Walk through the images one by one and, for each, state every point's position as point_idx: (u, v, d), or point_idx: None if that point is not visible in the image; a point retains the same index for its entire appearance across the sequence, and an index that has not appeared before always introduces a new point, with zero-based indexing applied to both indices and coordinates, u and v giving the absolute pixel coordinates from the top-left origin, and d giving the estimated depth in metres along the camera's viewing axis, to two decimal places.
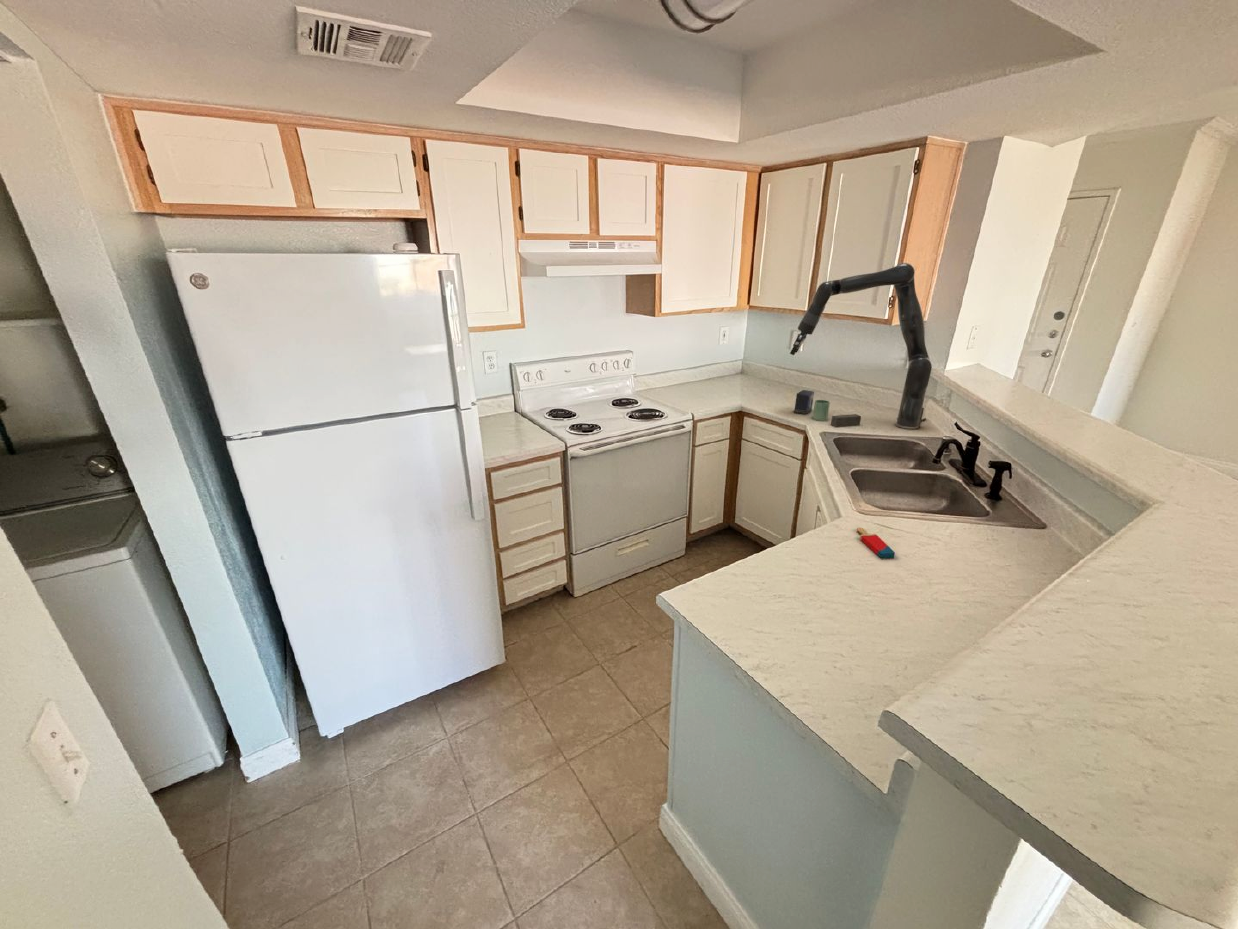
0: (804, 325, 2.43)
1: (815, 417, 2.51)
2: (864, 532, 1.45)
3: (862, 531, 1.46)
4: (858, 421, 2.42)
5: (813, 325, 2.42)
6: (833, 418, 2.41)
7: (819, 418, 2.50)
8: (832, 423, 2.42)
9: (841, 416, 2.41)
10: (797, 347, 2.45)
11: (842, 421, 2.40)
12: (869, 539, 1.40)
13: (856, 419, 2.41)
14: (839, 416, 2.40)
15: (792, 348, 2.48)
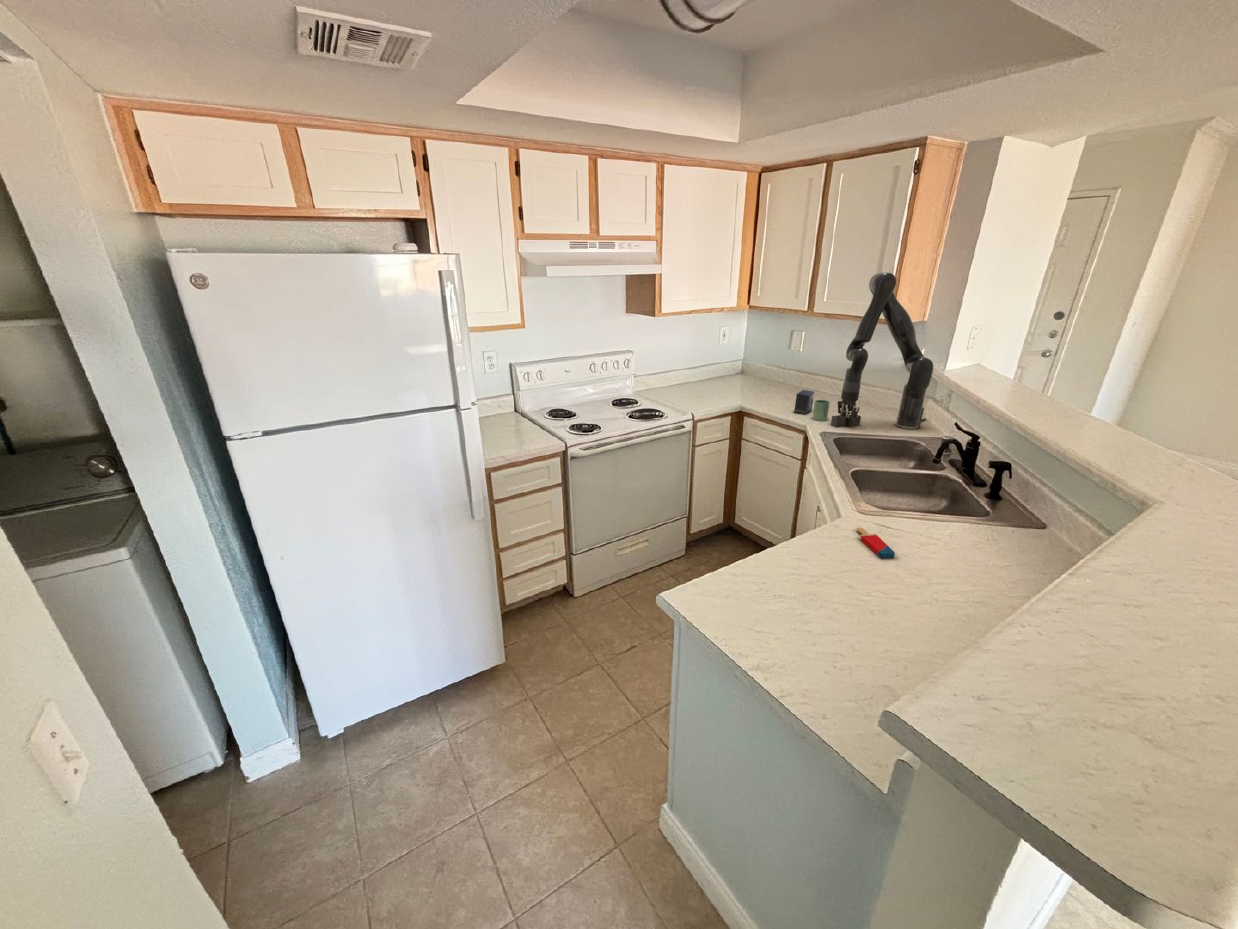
0: (853, 394, 2.34)
1: (815, 417, 2.51)
2: (864, 532, 1.45)
3: (862, 531, 1.46)
4: (858, 421, 2.42)
5: (859, 390, 2.35)
6: (833, 418, 2.41)
7: (819, 418, 2.50)
8: (832, 423, 2.42)
9: (841, 416, 2.41)
10: None
11: (842, 421, 2.40)
12: (869, 539, 1.40)
13: (856, 419, 2.41)
14: (839, 416, 2.40)
15: (847, 420, 2.40)
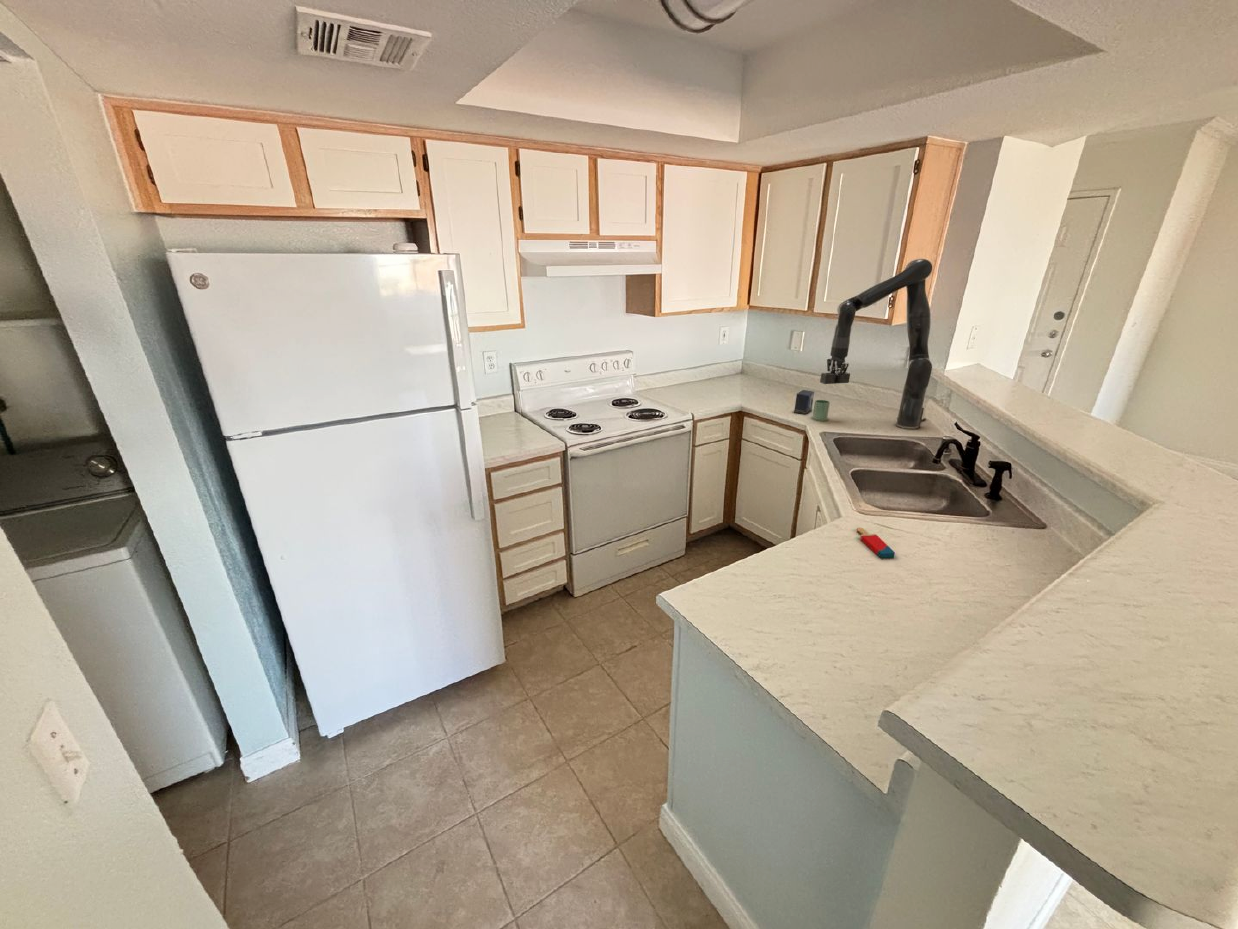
0: (842, 350, 2.33)
1: (815, 417, 2.51)
2: (864, 532, 1.45)
3: (862, 531, 1.46)
4: (847, 379, 2.41)
5: (848, 346, 2.34)
6: (822, 375, 2.40)
7: (819, 418, 2.50)
8: (821, 380, 2.41)
9: (830, 373, 2.40)
10: (844, 374, 2.36)
11: (831, 379, 2.39)
12: (869, 539, 1.40)
13: (845, 376, 2.40)
14: (828, 373, 2.39)
15: (836, 377, 2.39)
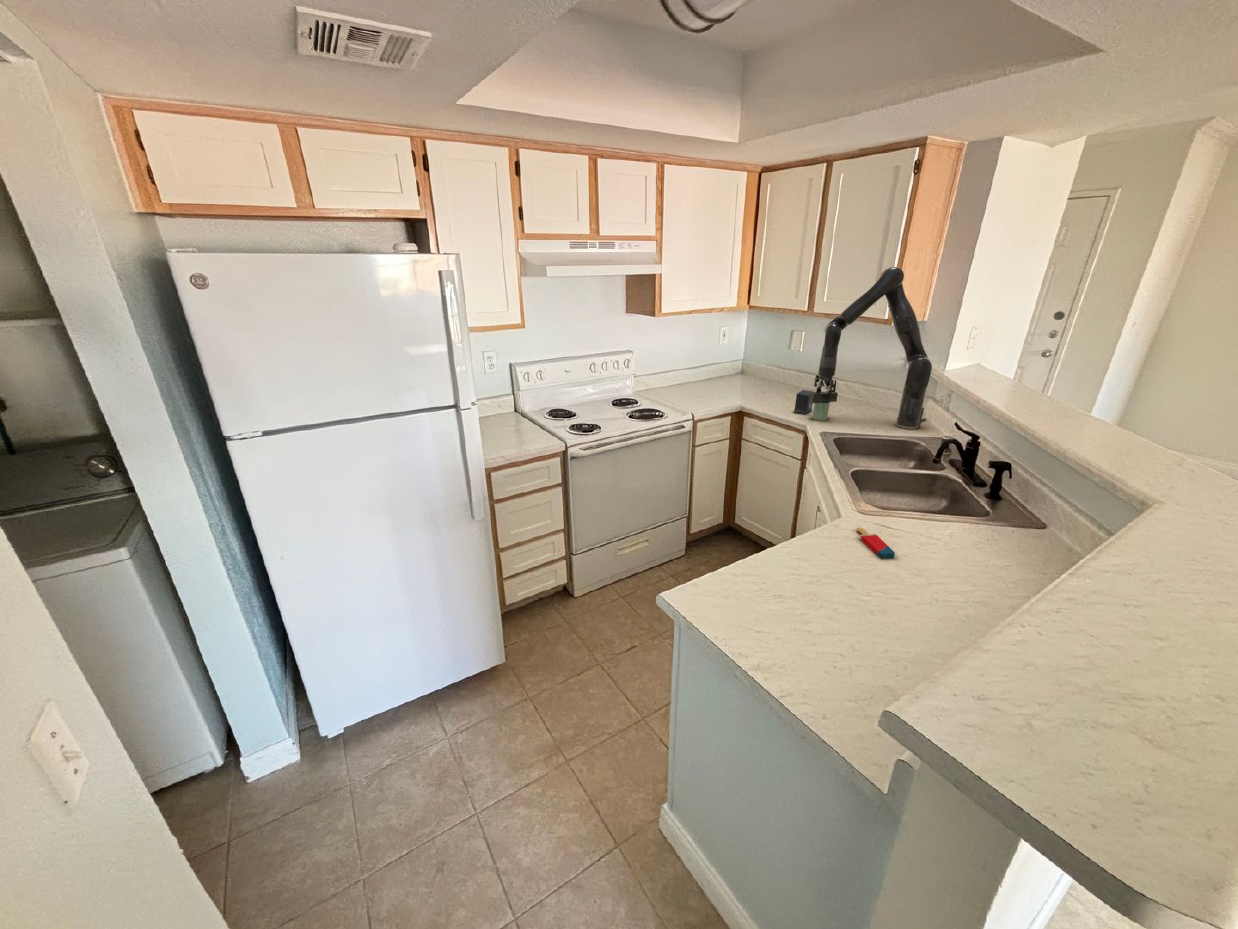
0: (829, 370, 2.40)
1: (815, 417, 2.51)
2: (864, 532, 1.45)
3: (862, 531, 1.46)
4: (835, 398, 2.48)
5: (835, 366, 2.41)
6: (810, 395, 2.48)
7: (819, 418, 2.50)
8: (809, 400, 2.49)
9: (818, 393, 2.47)
10: None
11: (819, 398, 2.46)
12: (869, 539, 1.40)
13: (833, 395, 2.48)
14: (816, 393, 2.47)
15: (827, 394, 2.44)
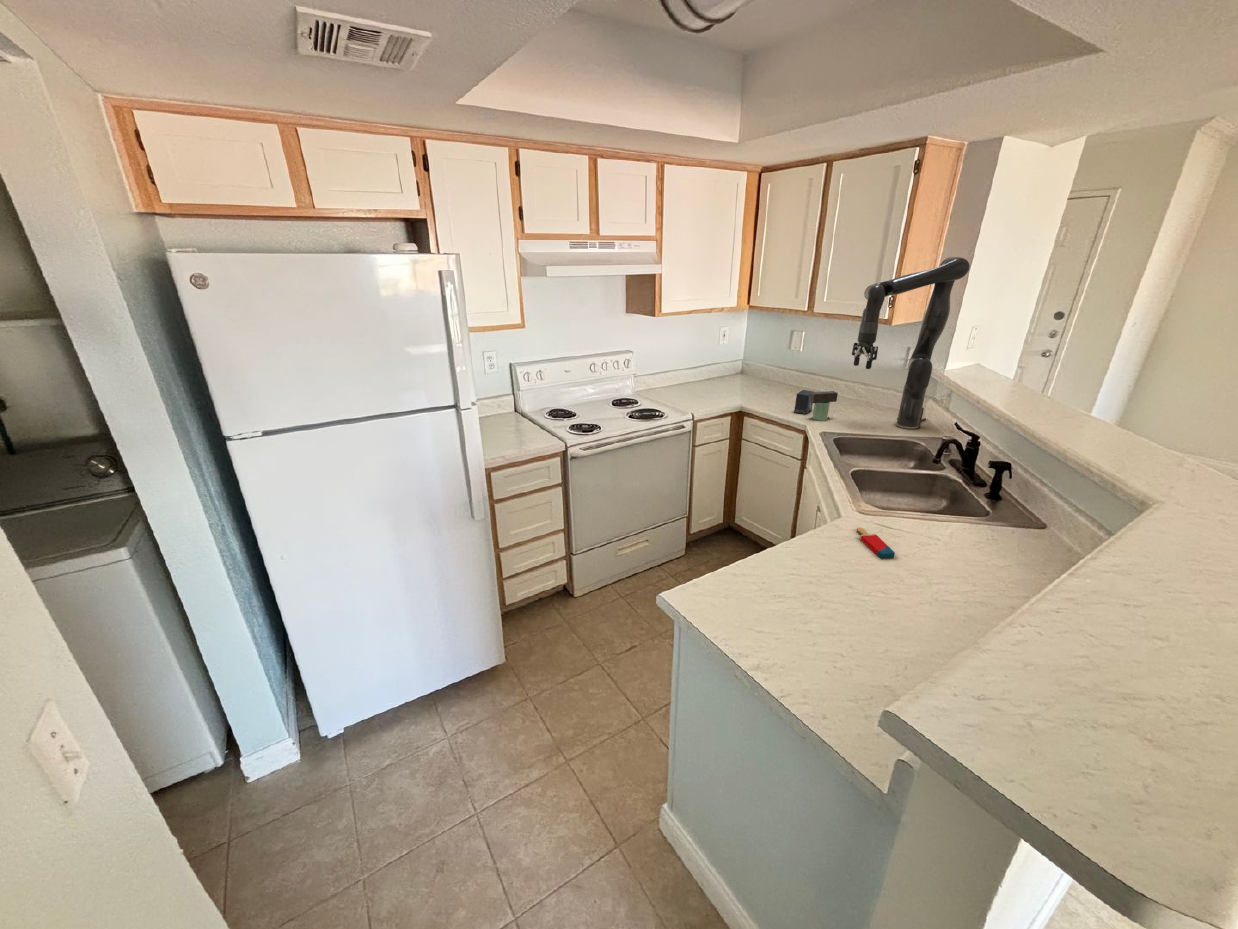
0: (870, 335, 2.24)
1: (815, 417, 2.51)
2: (864, 532, 1.45)
3: (862, 531, 1.45)
4: (835, 398, 2.48)
5: None
6: (810, 395, 2.48)
7: (819, 418, 2.50)
8: (809, 400, 2.49)
9: (818, 393, 2.47)
10: (875, 359, 2.25)
11: (819, 398, 2.46)
12: (869, 539, 1.40)
13: (833, 395, 2.48)
14: (816, 393, 2.47)
15: (867, 363, 2.27)
